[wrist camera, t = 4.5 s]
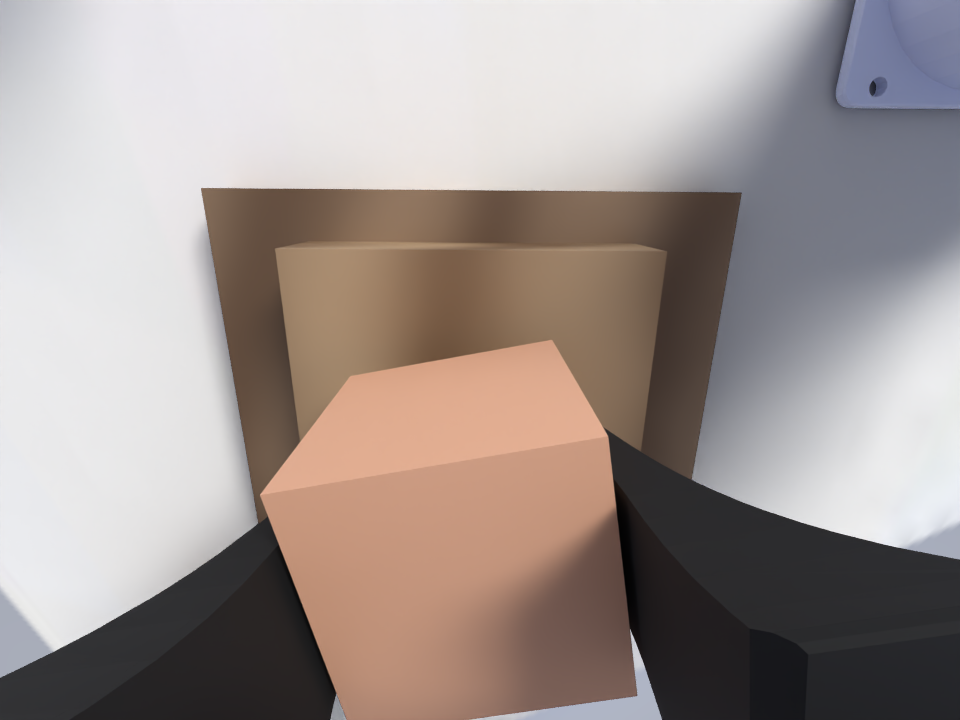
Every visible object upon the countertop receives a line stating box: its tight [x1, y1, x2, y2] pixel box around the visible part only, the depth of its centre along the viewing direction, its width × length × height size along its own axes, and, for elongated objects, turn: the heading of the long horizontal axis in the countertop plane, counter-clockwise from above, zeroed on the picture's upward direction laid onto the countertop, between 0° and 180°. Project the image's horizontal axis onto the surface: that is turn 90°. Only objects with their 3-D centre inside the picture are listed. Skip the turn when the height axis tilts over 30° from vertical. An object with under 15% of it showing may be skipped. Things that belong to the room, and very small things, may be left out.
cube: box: [260, 340, 637, 720], centre depth 10 cm, size 5×5×5 cm
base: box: [201, 188, 742, 523], centre depth 15 cm, size 16×13×4 cm
